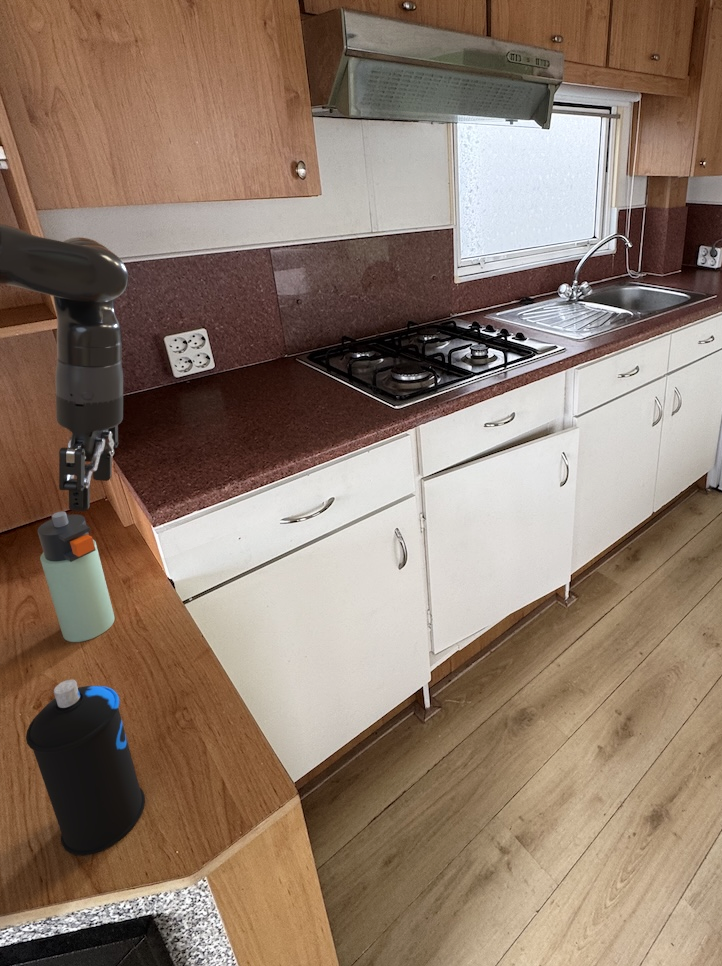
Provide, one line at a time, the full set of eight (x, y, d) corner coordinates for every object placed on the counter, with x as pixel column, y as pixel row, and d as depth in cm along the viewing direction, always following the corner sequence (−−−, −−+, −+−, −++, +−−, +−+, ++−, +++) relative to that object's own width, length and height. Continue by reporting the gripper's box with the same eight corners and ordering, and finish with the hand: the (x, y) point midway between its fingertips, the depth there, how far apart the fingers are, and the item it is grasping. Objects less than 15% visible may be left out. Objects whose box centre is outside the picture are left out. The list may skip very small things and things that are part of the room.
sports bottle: (53, 631, 95) (19, 518, 88) (100, 606, 101) (71, 498, 94) (80, 650, 91) (47, 534, 84) (127, 623, 97) (100, 511, 90)
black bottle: (85, 872, 62) (40, 734, 55) (46, 831, 66) (-1, 698, 59) (160, 805, 69) (127, 675, 62) (120, 772, 73) (85, 646, 66)
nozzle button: (72, 553, 88) (69, 541, 87) (89, 546, 90) (86, 533, 89) (78, 557, 87) (75, 544, 87) (95, 549, 89) (92, 536, 88)
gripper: (79, 370, 84) (80, 469, 89) (32, 406, 71) (37, 520, 76) (138, 376, 86) (136, 472, 91) (103, 413, 73) (103, 522, 78)
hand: (91, 494), depth 84 cm, fingers open, 8 cm apart
